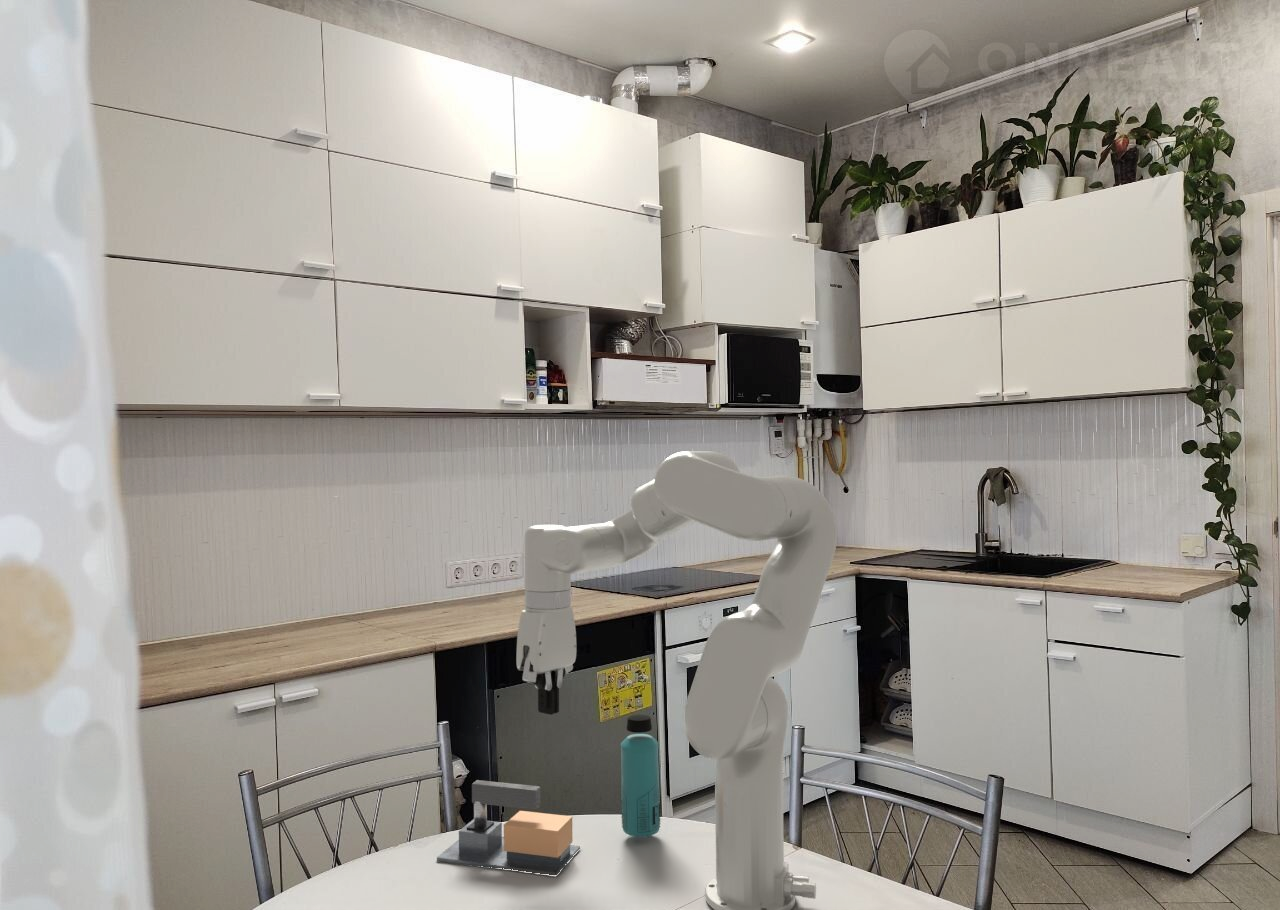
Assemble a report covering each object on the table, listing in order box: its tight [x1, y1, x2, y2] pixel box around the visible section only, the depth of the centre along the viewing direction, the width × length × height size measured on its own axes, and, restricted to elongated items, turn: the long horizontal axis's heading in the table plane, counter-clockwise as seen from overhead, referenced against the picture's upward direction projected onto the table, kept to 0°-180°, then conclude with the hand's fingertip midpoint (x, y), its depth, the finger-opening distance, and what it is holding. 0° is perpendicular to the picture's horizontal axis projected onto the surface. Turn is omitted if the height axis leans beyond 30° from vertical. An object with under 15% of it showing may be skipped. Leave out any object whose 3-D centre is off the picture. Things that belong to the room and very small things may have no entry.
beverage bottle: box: [620, 714, 662, 838], centre depth 149 cm, size 6×7×20 cm
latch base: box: [436, 818, 581, 875], centre depth 143 cm, size 20×10×4 cm, turn 73°
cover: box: [503, 810, 573, 858], centre depth 142 cm, size 9×6×4 cm, turn 73°
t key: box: [471, 779, 542, 826], centre depth 143 cm, size 11×2×6 cm, turn 73°
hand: (548, 712), depth 149 cm, fingers closed
